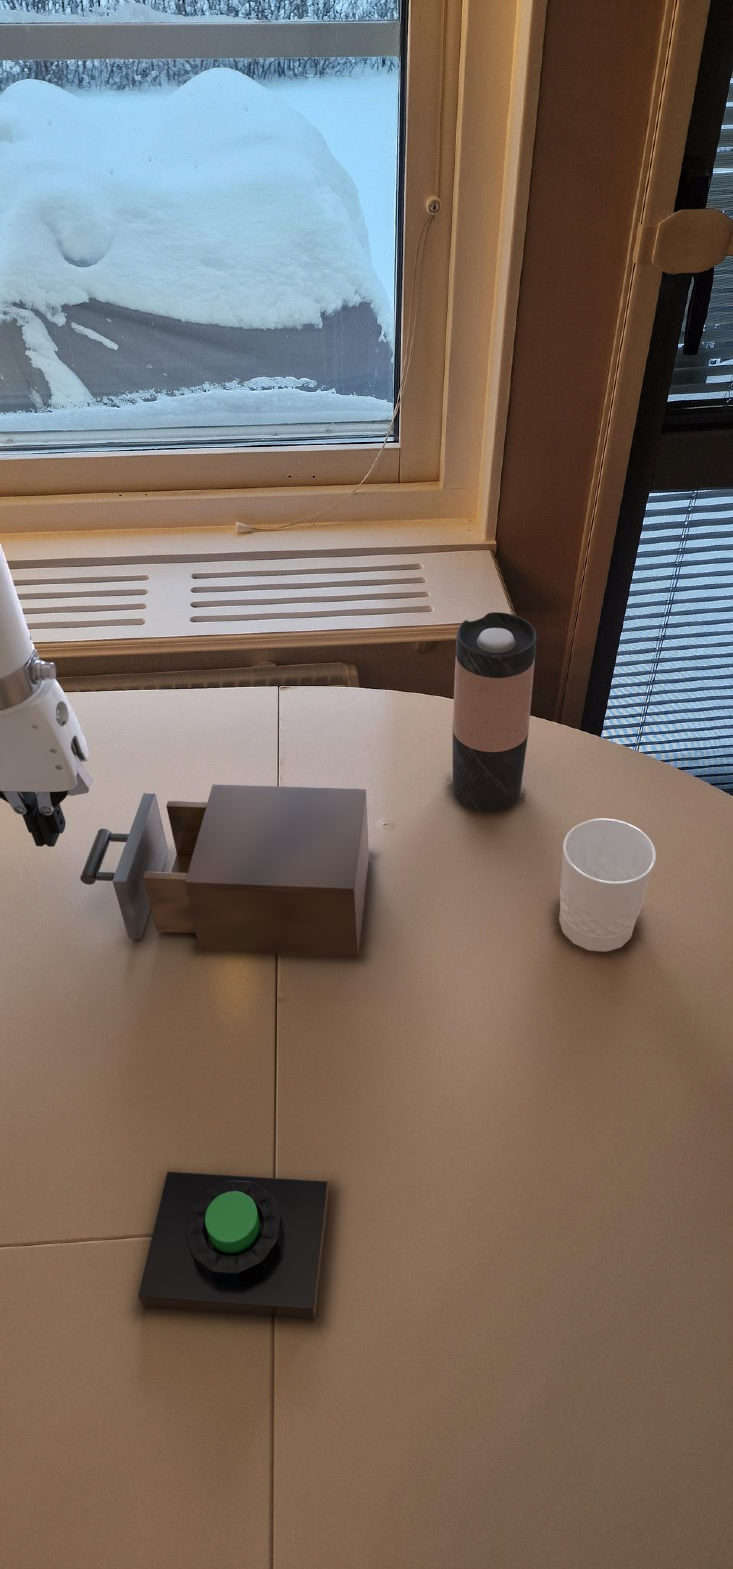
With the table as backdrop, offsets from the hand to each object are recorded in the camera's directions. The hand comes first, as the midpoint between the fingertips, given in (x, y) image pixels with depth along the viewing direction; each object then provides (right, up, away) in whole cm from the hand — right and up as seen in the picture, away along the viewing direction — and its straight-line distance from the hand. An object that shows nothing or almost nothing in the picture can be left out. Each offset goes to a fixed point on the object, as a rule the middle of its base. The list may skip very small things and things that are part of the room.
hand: (50, 835), depth 96 cm
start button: (+20, -26, -23) cm, 40 cm away
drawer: (+12, -6, +4) cm, 14 cm away
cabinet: (+22, -7, +4) cm, 23 cm away
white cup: (+51, -9, +1) cm, 51 cm away
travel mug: (+42, +4, +15) cm, 45 cm away
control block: (+20, -29, -21) cm, 41 cm away
